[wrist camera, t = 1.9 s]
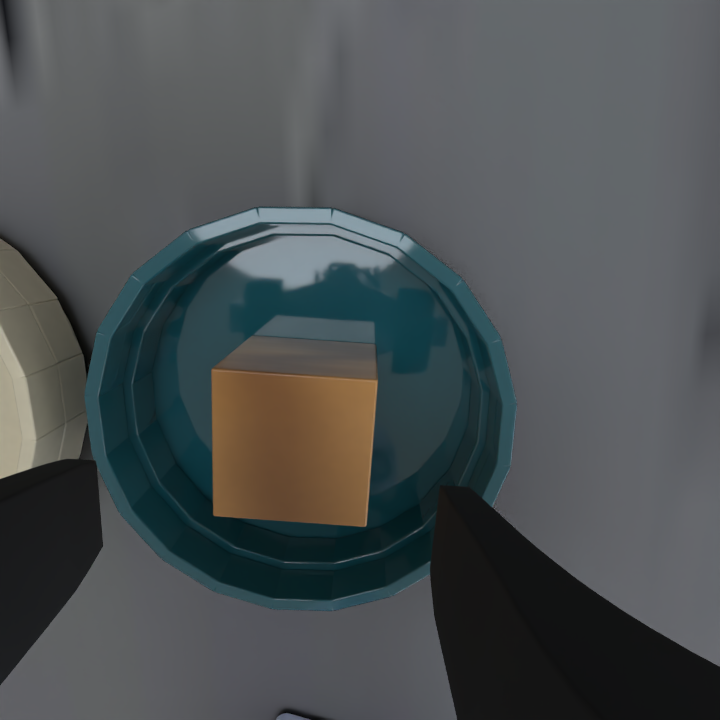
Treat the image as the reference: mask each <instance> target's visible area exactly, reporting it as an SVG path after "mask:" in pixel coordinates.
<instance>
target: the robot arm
mask: <svg viewBox="0 0 720 720" xmlns="http://www.w3.org/2000/svg"><path fill="white" fill-rule="evenodd" d="M102 547H103V540H102V528H101V515H100V502H99V490H98V477H97V465H96V461H95V460H80V459H63V460H59V461H54V462H51V463H47V464H44V465H40V466H37V467H34V468H31V469H28V470H25V471H22V472H19V473H16V474H13V475H10V476H7V477H4V478H2V479H0V685H1V684H2V682H3V681H4V680H5V679H6V677H7V676H8V675H9V674H10V672H11V671H12V670H13V669H14V668H15V666H16V665H17V664H18V663H19V661H20V660H21V659H22V658H23V656H24V655H25V654H26V653H27V651H28V650H29V649H30V648H31V646H32V645H33V644H34V643H35V642H36V640H37V639H38V638H39V637H40V635H41V634H42V633H43V632H44V630H45V629H46V628H47V627H48V625H49V624H50V623H51V622H52V620H53V619H54V618H55V617H56V615H57V614H58V613H59V612H60V610H61V609H62V608H63V607H64V605H65V604H66V603H67V601H68V600H69V599H70V598H71V596H72V595H73V594H74V592H75V591H76V590H77V588H78V586H79V585H80V583H81V582H82V580H83V579H84V577H85V575H86V574H87V572H88V571H89V569H90V567H91V566H92V564H93V562H94V561H95V559H96V557H97V555H98V554H99V552H100V550H101V549H102ZM430 577H431V588H432V598H433V607H434V616H435V621H436V626H437V630H438V635H439V639H440V644H441V649H442V653H443V658H444V662H445V666H446V671H447V675H448V680H449V684H450V689H451V693H452V698H453V702H454V706H455V711H456V715H457V720H720V667H719V666H717V665H715V664H713V663H712V662H710V661H708V660H706V659H704V658H702V657H700V656H698V655H697V654H695V653H693V652H691V651H689V650H688V649H686V648H684V647H682V646H681V645H679V644H677V643H676V642H674V641H672V640H670V639H669V638H667V637H665V636H663V635H662V634H660V633H658V632H656V631H655V630H653V629H651V628H650V627H648V626H646V625H645V624H643V623H641V622H640V621H638V620H637V619H635V618H633V617H632V616H630V615H628V614H627V613H625V612H624V611H622V610H621V609H619V608H618V607H616V606H615V605H613V604H612V603H610V602H609V601H607V600H606V599H605V598H603V597H602V596H600V595H599V594H597V593H596V592H594V591H593V590H591V589H590V588H588V587H587V586H586V585H584V584H583V583H581V582H580V581H579V580H577V579H576V578H575V577H573V576H572V575H571V574H569V573H568V572H567V571H566V570H564V569H563V568H562V567H560V566H559V565H558V564H557V563H555V562H554V561H553V560H552V559H550V558H549V557H548V556H546V555H545V554H544V553H543V552H542V551H540V550H539V549H538V548H537V547H536V546H534V545H533V544H532V543H531V542H530V541H529V540H527V539H526V538H525V537H524V536H523V535H522V534H521V533H519V532H518V531H517V530H516V529H515V528H514V527H513V526H512V525H511V524H509V523H508V522H507V521H506V520H505V519H504V518H503V517H502V516H501V515H500V514H499V513H498V512H496V511H495V510H494V509H493V508H492V507H491V506H490V505H489V504H488V503H487V502H486V501H485V500H484V499H483V498H481V497H480V496H479V495H478V494H477V493H476V492H475V491H474V490H472V489H471V488H470V487H462V486H447V485H440V489H439V497H438V505H437V514H436V522H435V530H434V539H433V547H432V555H431V564H430ZM276 720H310V719H307V718H303V717H300V716H296V715H293V714H289V713H284V714H281V715H279V716H278V717H277V718H276Z"/></svg>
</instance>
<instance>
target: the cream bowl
mask: <svg viewBox="0 0 720 720" xmlns="http://www.w3.org/2000/svg"><path fill="white" fill-rule="evenodd" d="M57 299H58V298H57V296H56V295H55V294H54V293H53V292H52V291H51V289H50V288H49V287H48V286H47V285H46V284H45V282H44V281H43V280H42V279H41V278H40V276H39V275H38V274H37V273H36V272H35V271H34V269H33V268H32V267H31V266H30V265H29V264H28V262H27V261H26V260H25V259H24V258H23V257H22V255H21V254H20V253H19V252H18V251H17V250H15V248H13V247H12V246H10V245H9V244H7V243H6V242H5V241H3V240H2V239H0V479H2V478H4V477H7V476H10V475H13V474H16V473H19V472H22V471H25V470H28V469H31V468H34V467H37V466H40V465H44V464H47V463H51V462H54V461H59V460H63V459H79V458H80V454H81V450H82V445H83V440H84V435H85V430H86V426H87V415H86V407H85V400H84V395H85V394H84V391H85V386H86V381H87V377H86V369H85V362H84V355H83V354H82V350H81V348H80V346H79V342H78V340H77V338H76V335H75V333H74V331H73V328H72V326H71V323H70V321H69V320H68V318H67V316H66V314H65V312H64V311H63V309H62V307H61V305H60V303H59V301H58V300H57Z"/></svg>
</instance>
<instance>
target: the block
mask: <svg viewBox="0 0 720 720" xmlns="http://www.w3.org/2000/svg"><path fill="white" fill-rule="evenodd" d="M211 385H212V470H213V515H214V516H220V517H234V518H248V519H262V520H276V521H290V522H304V523H318V524H332V525H346V526H360V527H365V526H366V525H367V514H368V502H369V489H370V476H371V463H372V451H373V438H374V425H375V413H376V400H377V387H378V373H377V351H376V345H375V344H366V343H352V342H338V341H323V340H309V339H294V338H280V337H266V336H251V337H250V338H248V339H247V340H246V341H245V342H243V343H242V344H241V345H240V346H239V347H237V348H236V349H235V350H234V351H233V352H231V353H230V354H229V355H228V356H227V357H225V358H224V359H223V360H222V361H220V362H219V363H218V364H217V365H216V366H214V367H213V368H212V370H211Z"/></svg>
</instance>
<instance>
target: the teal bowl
mask: <svg viewBox="0 0 720 720" xmlns="http://www.w3.org/2000/svg"><path fill="white" fill-rule="evenodd" d="M251 336H266V337H280V338H294V339H309V340H323V341H338V342H352V343H366V344H375V345H376V351H377V373H378V387H377V400H376V413H375V425H374V438H373V451H372V463H371V476H370V489H369V502H368V514H367V525H366V526H365V527H360V526H346V525H332V524H318V523H304V522H290V521H276V520H262V519H248V518H234V517H220V516H214V515H213V470H212V385H211V370H212V368H213V367H214V366H216V365H217V364H218V363H219V362H220V361H222V360H223V359H224V358H225V357H227V356H228V355H229V354H230V353H231V352H233V351H234V350H235V349H236V348H237V347H239V346H240V345H241V344H242V343H243V342H245V341H246V340H247V339H248V338H250V337H251ZM84 394H85V395H84V400H85V407H86V415H87V422H88V429H89V437H90V444H91V451H92V456H93V460H95V461H96V465H97V468H98V470H99V472H100V474H101V476H102V478H103V481H104V483H105V485H106V487H107V489H108V491H109V493H110V495H111V497H112V499H113V501H114V503H115V505H116V507H117V510H118V512H119V513H120V515H121V516H122V517H123V518H124V519H125V520H126V521H127V522H128V523H129V525H130V526H131V527H132V528H133V529H134V530H135V531H136V532H137V533H138V534H139V535H140V537H141V538H142V539H143V540H144V541H145V542H146V543H147V544H148V545H149V546H150V547H151V549H152V550H153V551H154V552H155V553H156V554H157V555H158V556H159V557H160V558H162V560H163V561H165V562H167V563H168V564H170V565H171V566H173V567H175V568H176V569H178V570H179V571H181V572H183V573H184V574H186V575H187V576H189V577H191V578H192V579H194V580H196V581H197V582H199V583H200V584H202V585H204V586H205V587H207V588H208V589H210V590H212V591H214V592H216V593H220V594H223V595H226V596H230V597H233V598H236V599H240V600H243V601H246V602H250V603H253V604H256V605H260V606H263V607H266V608H270V609H272V608H273V609H277V610H312V611H333V610H334V611H335V610H339V609H343V608H347V607H351V606H356V605H360V604H364V603H368V602H372V601H376V600H380V599H384V598H388V597H391V596H394V595H395V594H397V593H399V592H401V591H402V590H404V589H406V588H408V587H409V586H411V585H413V584H415V583H416V582H418V581H420V580H422V579H423V578H425V577H427V576H429V575H430V564H431V555H432V547H433V539H434V530H435V522H436V514H437V505H438V497H439V489H440V485H447V486H462V487H470V488H471V489H472V490H474V491H475V492H476V493H477V494H478V495H479V496H480V497H481V498H483V499H484V500H485V501H486V502H487V503H488V504H489V505H490V506H491V507H492V506H493V504H494V502H495V500H496V498H497V496H498V493H499V491H500V489H501V487H502V485H503V483H504V480H505V478H506V476H507V474H508V472H509V470H510V466H511V460H512V450H513V440H514V430H515V420H516V410H517V400H516V396H515V392H514V388H513V384H512V380H511V375H510V371H509V367H508V363H507V359H506V355H505V351H504V347H503V343H502V339H501V337H500V335H499V334H498V332H497V330H496V329H495V327H494V326H493V324H492V323H491V321H490V320H489V318H488V317H487V315H486V313H485V312H484V310H483V309H482V307H481V306H480V304H479V303H478V301H477V300H476V298H475V296H474V295H473V293H472V292H471V290H470V289H469V287H468V286H467V284H466V283H465V281H464V280H463V279H462V278H461V277H460V276H459V275H458V274H456V273H455V272H454V271H453V270H451V269H450V268H449V267H448V266H446V265H445V264H444V263H442V262H441V261H440V260H439V259H437V258H436V257H435V256H433V255H432V254H431V253H430V252H428V251H427V250H426V249H425V248H423V247H422V246H421V245H419V244H418V243H417V242H416V241H414V240H413V239H412V238H411V237H409V236H408V235H407V234H404V233H403V232H401V231H398V230H395V229H392V228H390V227H387V226H384V225H381V224H378V223H375V222H373V221H370V220H367V219H364V218H361V217H358V216H356V215H353V214H350V213H347V212H344V211H341V210H339V209H336V208H331V207H254V208H251V209H248V210H245V211H242V212H239V213H236V214H233V215H230V216H227V217H224V218H221V219H218V220H215V221H212V222H209V223H206V224H203V225H200V226H197V227H194V228H191V229H189V230H188V231H185V232H184V233H183V234H181V235H180V236H179V237H178V238H176V239H175V240H174V241H173V242H171V243H170V244H169V245H168V246H166V247H165V248H164V249H162V250H161V251H160V252H159V253H157V254H156V255H155V256H154V257H152V258H151V259H150V260H148V261H147V262H146V263H145V264H143V265H142V266H141V267H140V268H138V269H137V270H136V271H135V272H133V274H132V275H131V276H130V278H129V279H128V281H127V282H126V284H125V286H124V287H123V289H122V291H121V292H120V294H119V296H118V297H117V299H116V300H115V302H114V304H113V305H112V307H111V309H110V310H109V312H108V313H107V315H106V317H105V318H104V320H103V322H102V323H101V325H100V326H99V328H98V330H97V333H96V337H95V342H94V347H93V352H92V357H91V362H90V366H89V371H88V376H87V381H86V386H85V391H84Z"/></svg>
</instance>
